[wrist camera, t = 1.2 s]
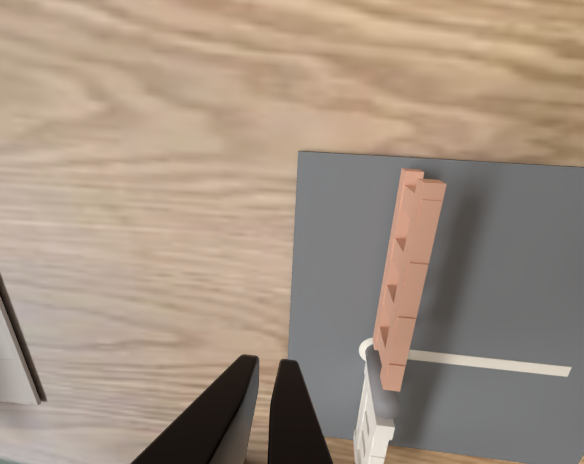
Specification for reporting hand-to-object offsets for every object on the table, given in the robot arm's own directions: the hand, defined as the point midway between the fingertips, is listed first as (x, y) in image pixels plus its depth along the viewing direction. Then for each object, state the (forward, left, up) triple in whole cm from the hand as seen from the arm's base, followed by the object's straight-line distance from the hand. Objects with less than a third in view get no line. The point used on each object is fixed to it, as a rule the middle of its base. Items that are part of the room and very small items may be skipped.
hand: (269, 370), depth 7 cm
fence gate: (-3, -5, -11) cm, 13 cm away
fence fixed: (-14, -5, -12) cm, 19 cm away
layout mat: (-7, -10, -12) cm, 17 cm away
